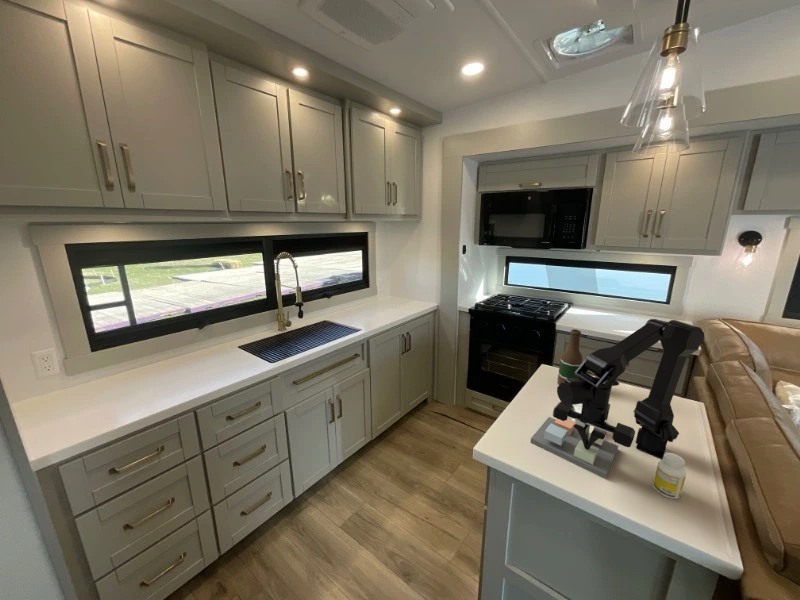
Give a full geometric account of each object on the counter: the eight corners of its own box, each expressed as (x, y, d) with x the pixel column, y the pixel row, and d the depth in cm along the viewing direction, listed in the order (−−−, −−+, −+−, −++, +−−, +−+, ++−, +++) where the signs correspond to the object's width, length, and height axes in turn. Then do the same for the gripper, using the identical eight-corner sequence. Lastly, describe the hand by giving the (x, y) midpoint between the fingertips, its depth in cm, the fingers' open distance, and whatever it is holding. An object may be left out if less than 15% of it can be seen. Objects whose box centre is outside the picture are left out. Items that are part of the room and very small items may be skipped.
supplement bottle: (667, 481, 83) (675, 450, 81) (686, 499, 78) (695, 466, 76) (647, 482, 83) (655, 450, 81) (664, 500, 78) (673, 466, 75)
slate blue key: (566, 437, 95) (567, 430, 95) (560, 445, 92) (562, 438, 91) (549, 430, 99) (550, 423, 98) (543, 437, 95) (544, 430, 95)
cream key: (605, 437, 96) (606, 430, 95) (601, 445, 92) (602, 438, 92) (587, 430, 99) (589, 423, 98) (583, 437, 95) (584, 430, 95)
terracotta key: (574, 428, 102) (575, 421, 101) (569, 435, 98) (570, 428, 98) (558, 421, 105) (559, 415, 104) (553, 428, 101) (554, 421, 101)
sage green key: (597, 455, 90) (598, 448, 89) (592, 464, 87) (594, 457, 86) (578, 447, 93) (580, 440, 93) (573, 455, 90) (575, 448, 89)
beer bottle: (552, 382, 133) (560, 328, 127) (566, 379, 135) (575, 326, 129) (568, 392, 126) (577, 335, 120) (582, 388, 128) (592, 332, 122)
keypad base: (617, 449, 95) (618, 445, 94) (605, 478, 84) (606, 474, 84) (548, 420, 108) (549, 416, 108) (530, 442, 98) (530, 438, 97)
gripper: (643, 401, 85) (632, 450, 89) (568, 376, 97) (561, 421, 101) (636, 419, 77) (624, 472, 81) (555, 390, 90) (548, 438, 94)
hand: (587, 448), depth 89 cm, fingers closed, pressing on sage green key
